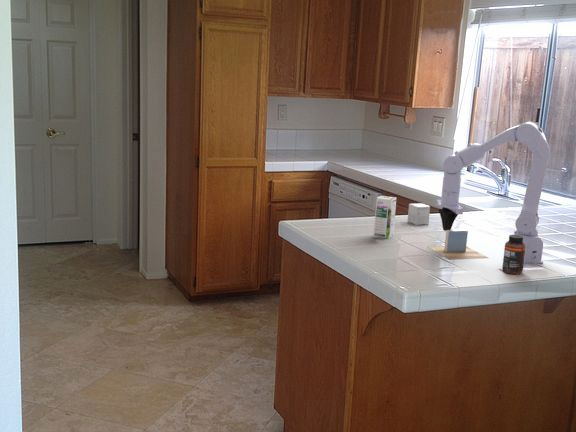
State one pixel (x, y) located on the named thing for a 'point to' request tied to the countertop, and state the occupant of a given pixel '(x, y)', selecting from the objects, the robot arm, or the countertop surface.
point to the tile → (455, 240)
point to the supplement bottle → (514, 255)
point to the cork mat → (458, 253)
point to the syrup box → (384, 217)
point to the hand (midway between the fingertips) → (446, 230)
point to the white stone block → (418, 214)
